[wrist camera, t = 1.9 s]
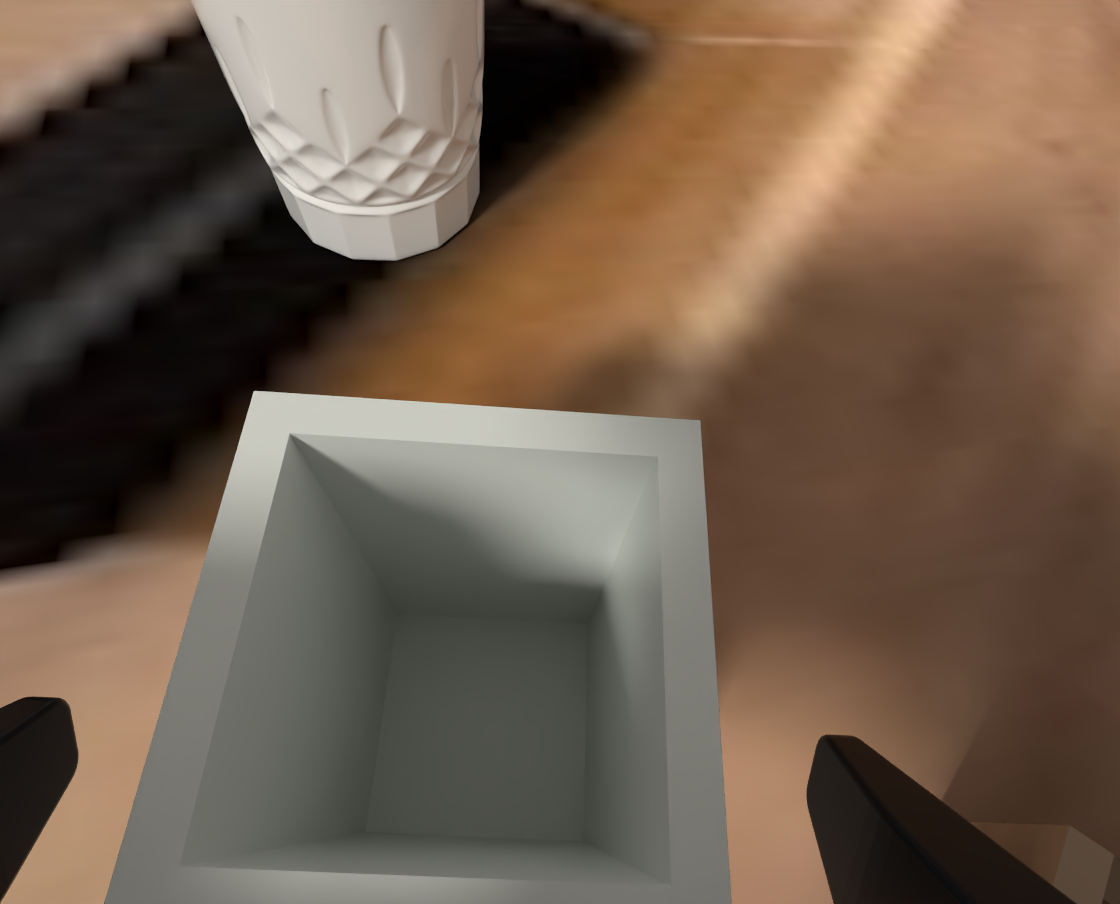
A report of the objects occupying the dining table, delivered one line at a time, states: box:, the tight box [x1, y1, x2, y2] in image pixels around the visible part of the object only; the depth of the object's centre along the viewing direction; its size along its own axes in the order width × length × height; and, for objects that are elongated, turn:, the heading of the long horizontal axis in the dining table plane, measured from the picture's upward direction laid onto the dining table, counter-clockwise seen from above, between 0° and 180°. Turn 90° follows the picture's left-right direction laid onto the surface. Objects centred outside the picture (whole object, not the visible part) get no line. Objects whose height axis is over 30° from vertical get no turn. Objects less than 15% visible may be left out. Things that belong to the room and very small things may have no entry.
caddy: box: [104, 391, 732, 904], centre depth 12 cm, size 6×6×10 cm
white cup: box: [191, 0, 484, 261], centre depth 20 cm, size 8×8×10 cm
